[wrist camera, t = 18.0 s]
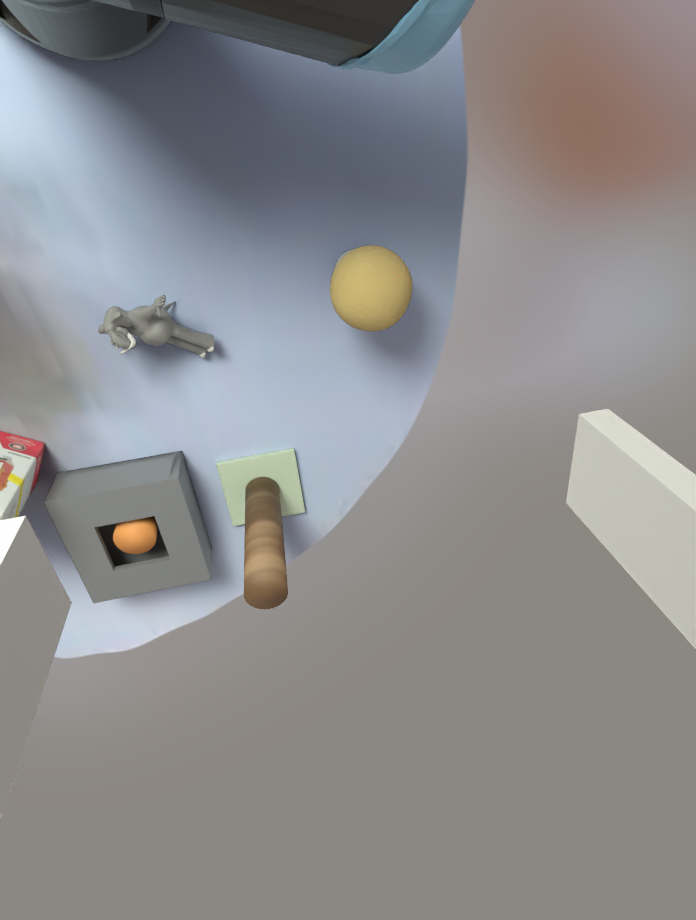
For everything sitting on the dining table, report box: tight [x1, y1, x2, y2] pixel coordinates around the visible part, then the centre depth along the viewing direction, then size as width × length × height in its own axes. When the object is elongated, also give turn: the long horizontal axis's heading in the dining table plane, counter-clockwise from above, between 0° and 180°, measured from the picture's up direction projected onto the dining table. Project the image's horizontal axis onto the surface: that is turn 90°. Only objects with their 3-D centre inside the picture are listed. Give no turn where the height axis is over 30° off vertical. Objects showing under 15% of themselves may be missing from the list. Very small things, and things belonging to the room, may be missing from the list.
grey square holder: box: [43, 451, 212, 603], centre depth 56 cm, size 13×12×5 cm
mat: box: [216, 448, 305, 526], centre depth 59 cm, size 8×8×1 cm
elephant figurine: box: [98, 295, 215, 358], centre depth 46 cm, size 10×6×9 cm
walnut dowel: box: [244, 477, 288, 609], centre depth 52 cm, size 4×4×15 cm
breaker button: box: [113, 516, 158, 554], centre depth 55 cm, size 4×4×3 cm
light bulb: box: [330, 245, 412, 331], centre depth 45 cm, size 6×6×10 cm
